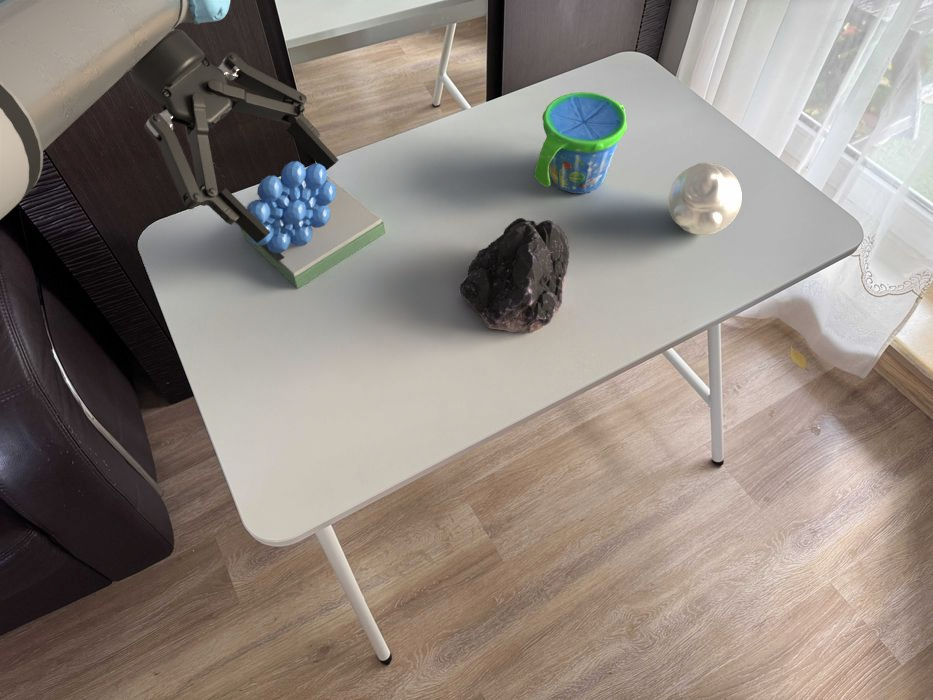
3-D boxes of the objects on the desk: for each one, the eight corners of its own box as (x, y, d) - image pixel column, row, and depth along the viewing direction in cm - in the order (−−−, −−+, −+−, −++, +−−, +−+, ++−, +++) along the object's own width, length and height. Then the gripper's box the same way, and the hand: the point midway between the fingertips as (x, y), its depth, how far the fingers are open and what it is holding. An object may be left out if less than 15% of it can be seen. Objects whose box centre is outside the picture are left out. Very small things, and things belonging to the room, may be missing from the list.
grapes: (328, 208, 94) (313, 130, 84) (351, 239, 90) (338, 161, 81) (244, 240, 90) (218, 163, 81) (264, 273, 87) (240, 196, 77)
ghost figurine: (644, 217, 94) (658, 156, 86) (701, 193, 97) (721, 132, 89) (686, 261, 90) (706, 201, 82) (746, 235, 92) (771, 174, 84)
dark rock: (470, 348, 83) (477, 298, 75) (448, 259, 90) (452, 204, 82) (578, 334, 86) (597, 284, 77) (550, 247, 92) (564, 192, 84)
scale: (297, 289, 89) (292, 275, 87) (243, 236, 94) (237, 222, 92) (385, 233, 94) (383, 218, 92) (329, 186, 100) (326, 172, 98)
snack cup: (560, 223, 94) (566, 162, 86) (509, 182, 99) (511, 120, 91) (644, 174, 99) (658, 111, 91) (592, 136, 104) (601, 74, 96)
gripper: (216, 12, 85) (343, 150, 93) (58, 131, 72) (219, 279, 80) (239, -24, 79) (372, 127, 87) (71, 98, 66) (244, 262, 74)
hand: (299, 200), depth 83 cm, fingers open, 13 cm apart
